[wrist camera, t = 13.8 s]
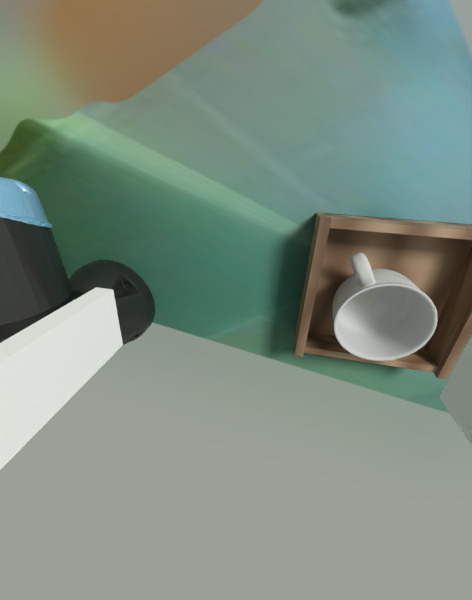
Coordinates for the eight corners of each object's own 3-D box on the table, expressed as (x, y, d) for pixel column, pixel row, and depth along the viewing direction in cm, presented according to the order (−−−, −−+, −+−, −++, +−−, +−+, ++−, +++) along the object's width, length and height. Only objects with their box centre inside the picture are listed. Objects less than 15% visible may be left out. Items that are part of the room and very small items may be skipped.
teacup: (410, 323, 37) (438, 358, 30) (331, 334, 41) (340, 368, 33) (406, 228, 32) (438, 243, 25) (317, 249, 35) (323, 268, 28)
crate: (293, 333, 43) (294, 355, 38) (316, 211, 34) (320, 217, 29) (426, 353, 40) (447, 379, 35) (487, 223, 31) (526, 233, 26)
